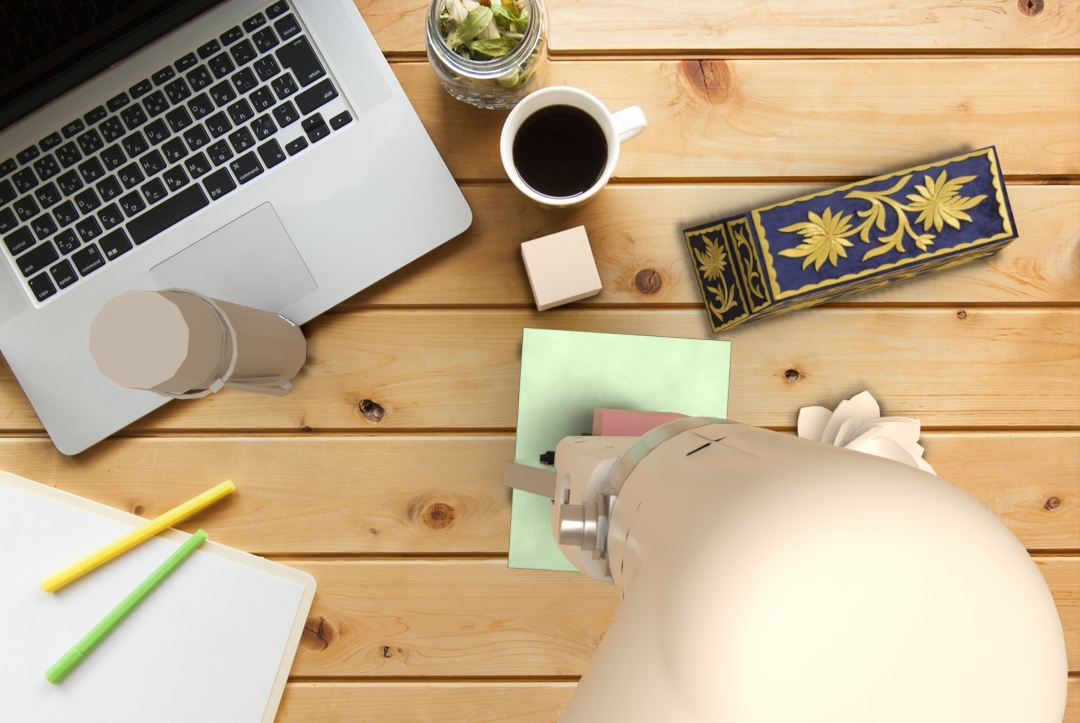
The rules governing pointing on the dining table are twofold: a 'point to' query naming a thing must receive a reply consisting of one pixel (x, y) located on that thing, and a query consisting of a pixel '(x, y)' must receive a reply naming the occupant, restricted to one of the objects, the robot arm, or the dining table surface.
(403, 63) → the dining table surface
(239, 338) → the water bottle
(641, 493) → the robot arm
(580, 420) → the pale green block
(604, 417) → the pink box
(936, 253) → the decorative box
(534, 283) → the pale peach cube
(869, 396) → the lotus flower
